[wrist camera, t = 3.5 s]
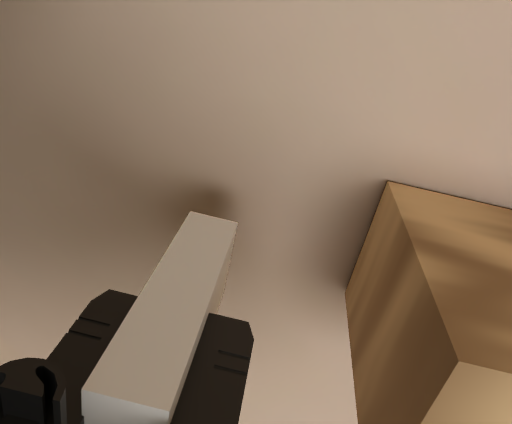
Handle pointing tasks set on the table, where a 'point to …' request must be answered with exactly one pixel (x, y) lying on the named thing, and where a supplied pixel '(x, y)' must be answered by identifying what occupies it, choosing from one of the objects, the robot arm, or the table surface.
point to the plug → (432, 311)
